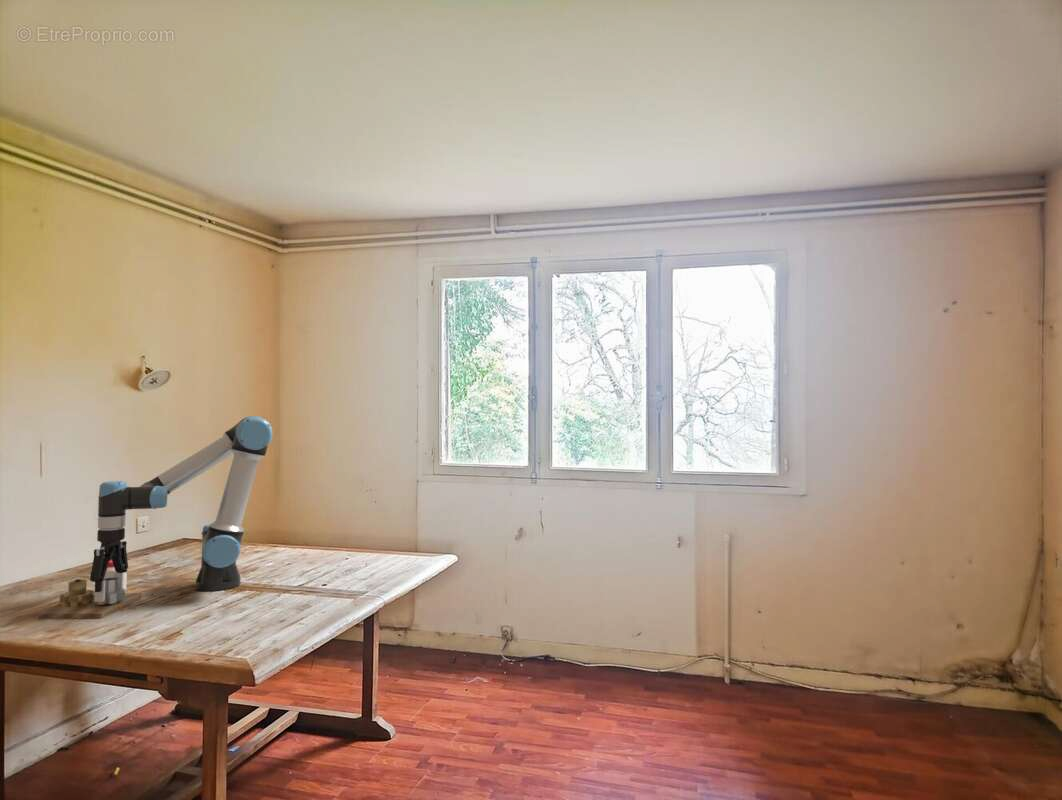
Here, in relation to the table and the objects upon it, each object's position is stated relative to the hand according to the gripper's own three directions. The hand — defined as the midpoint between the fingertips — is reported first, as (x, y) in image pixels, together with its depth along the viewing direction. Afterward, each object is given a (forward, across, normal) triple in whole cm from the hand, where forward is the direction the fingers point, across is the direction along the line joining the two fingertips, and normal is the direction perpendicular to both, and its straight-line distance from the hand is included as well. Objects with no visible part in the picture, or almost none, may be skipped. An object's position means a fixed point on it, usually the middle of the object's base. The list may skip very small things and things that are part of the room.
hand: (108, 596), depth 202 cm
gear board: (+3, 0, -5) cm, 6 cm away
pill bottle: (+4, -18, -9) cm, 20 cm away
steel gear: (+1, 0, 0) cm, 1 cm away
